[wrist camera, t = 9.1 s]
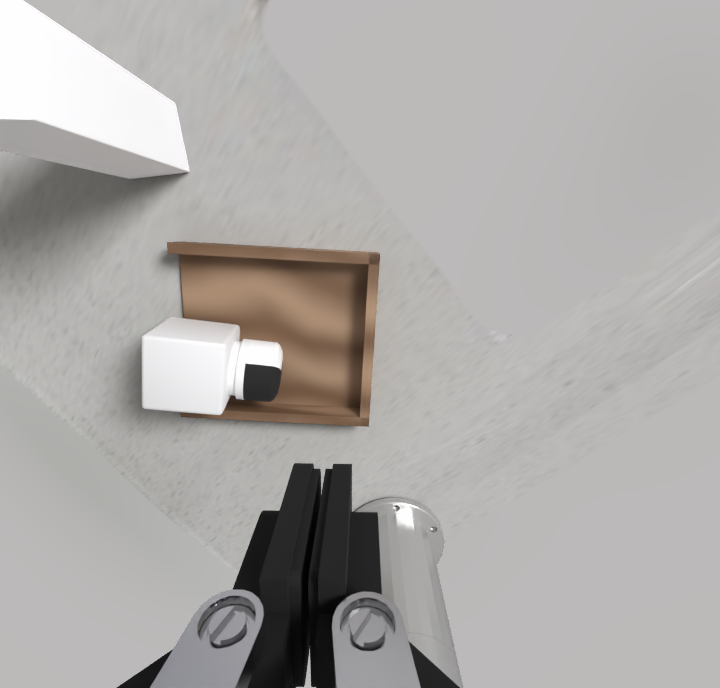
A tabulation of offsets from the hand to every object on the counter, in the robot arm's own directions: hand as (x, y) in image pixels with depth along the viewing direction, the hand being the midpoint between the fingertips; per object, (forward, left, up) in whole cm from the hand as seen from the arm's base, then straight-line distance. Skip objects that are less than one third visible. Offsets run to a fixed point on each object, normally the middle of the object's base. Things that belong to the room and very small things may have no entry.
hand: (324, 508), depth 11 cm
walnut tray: (-3, +8, -31) cm, 32 cm away
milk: (+15, +20, -32) cm, 40 cm away
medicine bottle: (-5, +19, -26) cm, 33 cm away
